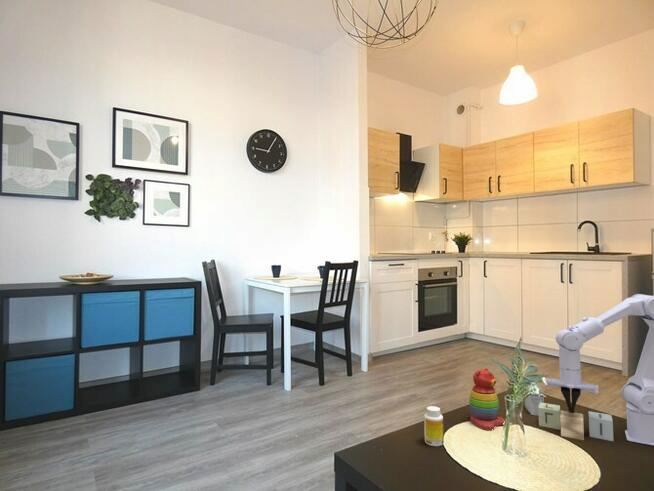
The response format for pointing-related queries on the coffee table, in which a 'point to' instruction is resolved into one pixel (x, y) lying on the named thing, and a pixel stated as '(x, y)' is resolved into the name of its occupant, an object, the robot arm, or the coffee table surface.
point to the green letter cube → (549, 415)
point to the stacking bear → (484, 401)
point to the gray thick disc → (533, 404)
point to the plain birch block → (572, 425)
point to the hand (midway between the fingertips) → (571, 412)
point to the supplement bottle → (433, 426)
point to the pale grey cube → (601, 426)
